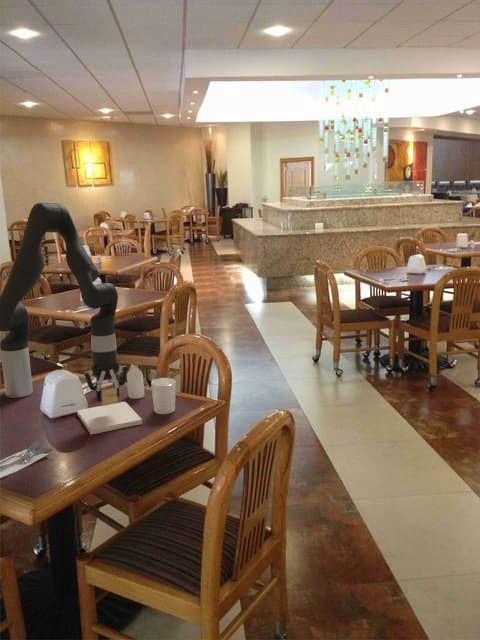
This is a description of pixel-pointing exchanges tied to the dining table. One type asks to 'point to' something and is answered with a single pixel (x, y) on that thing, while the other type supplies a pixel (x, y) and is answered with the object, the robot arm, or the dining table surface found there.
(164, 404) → the white cup
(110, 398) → the oak block
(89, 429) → the platter
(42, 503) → the dining table surface
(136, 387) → the white pointed crystal
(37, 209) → the robot arm
